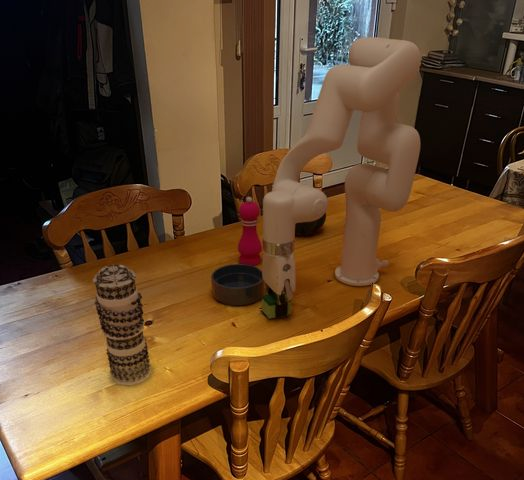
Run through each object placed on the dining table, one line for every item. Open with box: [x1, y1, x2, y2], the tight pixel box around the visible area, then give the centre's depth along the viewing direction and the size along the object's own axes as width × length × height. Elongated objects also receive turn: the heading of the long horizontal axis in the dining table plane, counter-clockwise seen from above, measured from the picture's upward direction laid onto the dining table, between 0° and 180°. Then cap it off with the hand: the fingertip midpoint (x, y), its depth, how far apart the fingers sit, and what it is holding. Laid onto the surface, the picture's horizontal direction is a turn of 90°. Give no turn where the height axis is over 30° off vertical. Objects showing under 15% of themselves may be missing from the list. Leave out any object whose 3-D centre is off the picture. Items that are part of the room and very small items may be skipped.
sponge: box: [261, 293, 293, 320], centre depth 135 cm, size 6×4×4 cm
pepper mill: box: [237, 196, 263, 266], centre depth 156 cm, size 7×7×20 cm
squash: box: [295, 211, 327, 236], centre depth 178 cm, size 14×15×15 cm
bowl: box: [210, 263, 265, 307], centre depth 144 cm, size 14×14×6 cm
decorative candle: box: [92, 264, 152, 386], centre depth 109 cm, size 9×9×25 cm
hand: (276, 310), depth 136 cm, fingers closed on sponge, 4 cm apart
